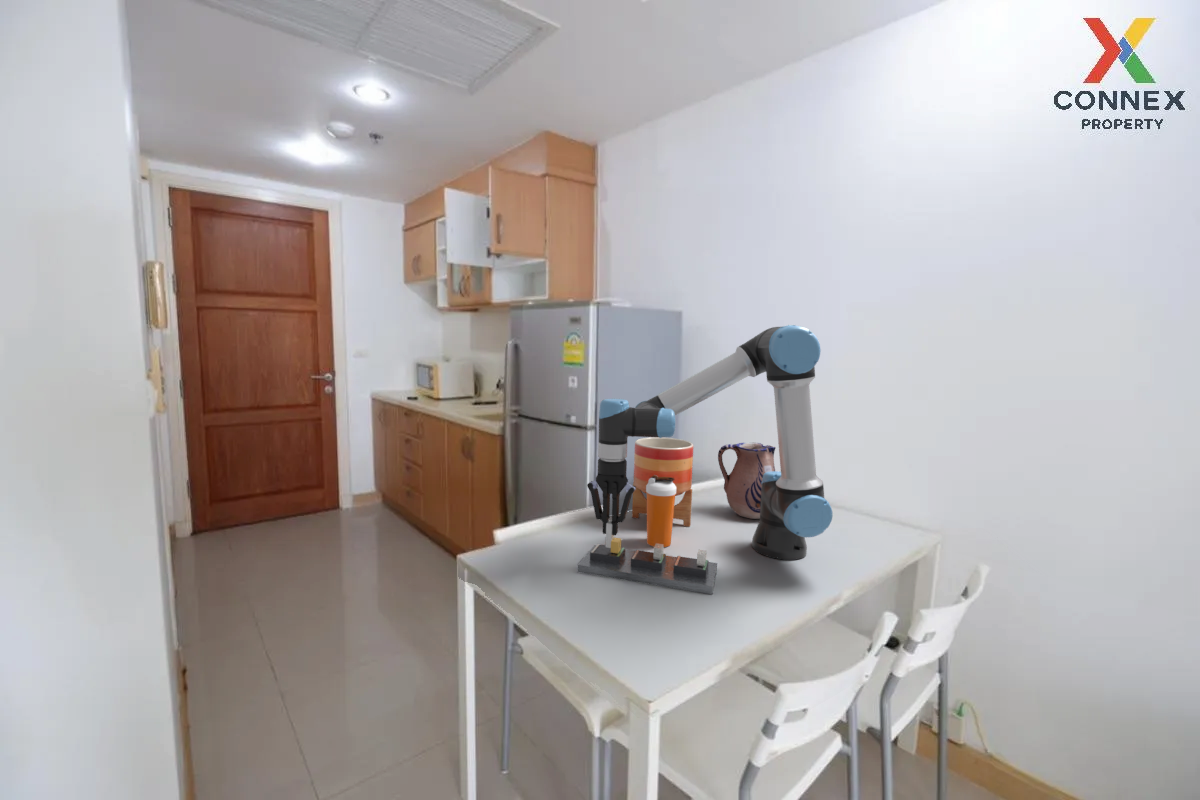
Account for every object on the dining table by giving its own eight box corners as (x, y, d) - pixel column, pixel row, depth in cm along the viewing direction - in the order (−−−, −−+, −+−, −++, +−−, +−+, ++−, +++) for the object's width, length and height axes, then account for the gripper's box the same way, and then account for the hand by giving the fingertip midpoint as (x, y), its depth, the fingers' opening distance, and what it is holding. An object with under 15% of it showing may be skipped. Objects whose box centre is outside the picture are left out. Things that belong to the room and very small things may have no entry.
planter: (622, 526, 167) (625, 444, 164) (641, 508, 185) (644, 435, 182) (682, 536, 159) (687, 451, 156) (696, 517, 178) (700, 440, 175)
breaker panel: (717, 570, 136) (718, 544, 135) (712, 594, 122) (713, 565, 122) (594, 551, 146) (594, 527, 145) (577, 572, 132) (578, 545, 132)
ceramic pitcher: (784, 524, 173) (789, 451, 170) (721, 522, 173) (725, 449, 170) (768, 508, 190) (772, 441, 187) (711, 506, 190) (714, 439, 188)
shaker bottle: (673, 550, 148) (676, 482, 146) (642, 547, 150) (644, 480, 148) (674, 539, 157) (677, 474, 155) (645, 536, 159) (648, 472, 156)
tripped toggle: (621, 549, 137) (621, 538, 137) (618, 553, 135) (618, 542, 134) (613, 548, 138) (614, 537, 138) (610, 552, 135) (611, 541, 135)
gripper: (640, 457, 136) (636, 544, 138) (593, 453, 140) (590, 537, 142) (633, 463, 129) (630, 554, 131) (584, 459, 132) (581, 547, 135)
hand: (609, 545), depth 137 cm, fingers closed
